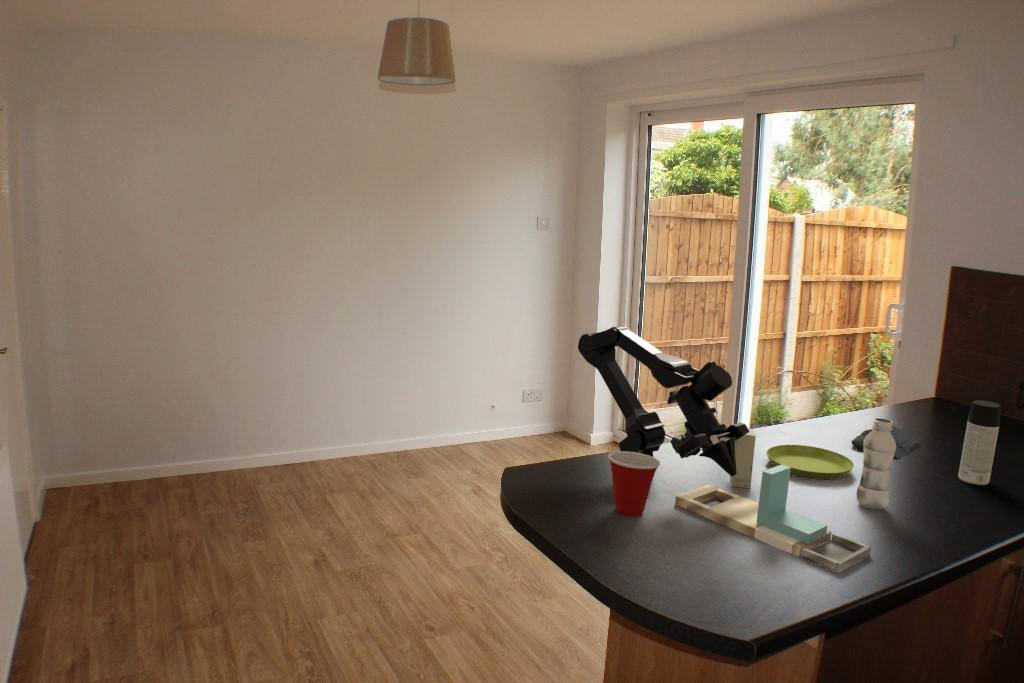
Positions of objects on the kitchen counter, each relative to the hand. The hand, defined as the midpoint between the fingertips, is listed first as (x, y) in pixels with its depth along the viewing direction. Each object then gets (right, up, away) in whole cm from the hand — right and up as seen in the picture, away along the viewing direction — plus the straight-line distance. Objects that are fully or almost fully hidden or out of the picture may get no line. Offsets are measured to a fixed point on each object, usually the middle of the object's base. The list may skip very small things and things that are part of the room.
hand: (734, 475), depth 156 cm
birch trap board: (+5, -10, -5) cm, 12 cm away
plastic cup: (-22, -8, +1) cm, 23 cm away
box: (+7, -6, +19) cm, 21 cm away
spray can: (+68, -7, +29) cm, 74 cm away
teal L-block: (+8, -9, -9) cm, 15 cm away
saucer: (+28, -5, +32) cm, 43 cm away
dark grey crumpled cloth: (+58, -2, +54) cm, 79 cm away
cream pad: (+8, -11, -9) cm, 16 cm away
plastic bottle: (+33, -9, +9) cm, 35 cm away
